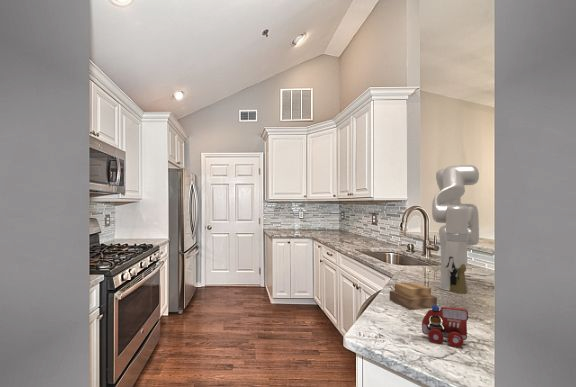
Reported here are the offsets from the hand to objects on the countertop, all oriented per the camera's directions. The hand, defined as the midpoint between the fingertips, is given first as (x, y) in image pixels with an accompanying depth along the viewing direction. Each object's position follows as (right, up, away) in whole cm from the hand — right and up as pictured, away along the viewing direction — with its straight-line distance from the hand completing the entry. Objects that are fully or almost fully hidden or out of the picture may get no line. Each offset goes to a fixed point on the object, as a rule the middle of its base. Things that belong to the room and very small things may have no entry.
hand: (456, 285), depth 119 cm
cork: (0, -2, 0) cm, 3 cm away
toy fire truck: (-18, -9, -26) cm, 33 cm away
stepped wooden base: (-13, -10, +10) cm, 19 cm away
